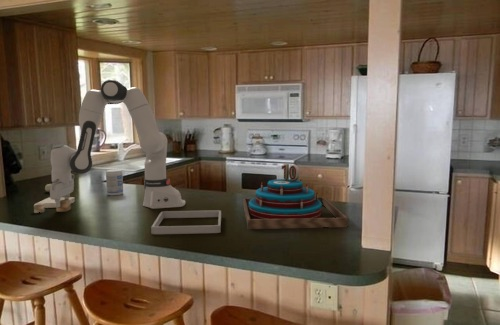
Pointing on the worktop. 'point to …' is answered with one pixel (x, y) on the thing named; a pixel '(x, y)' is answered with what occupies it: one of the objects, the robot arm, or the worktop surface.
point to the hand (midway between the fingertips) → (62, 204)
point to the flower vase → (49, 187)
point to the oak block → (64, 206)
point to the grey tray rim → (186, 229)
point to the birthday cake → (285, 198)
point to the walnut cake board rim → (298, 219)
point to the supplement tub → (114, 182)
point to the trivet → (52, 204)
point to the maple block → (39, 207)
